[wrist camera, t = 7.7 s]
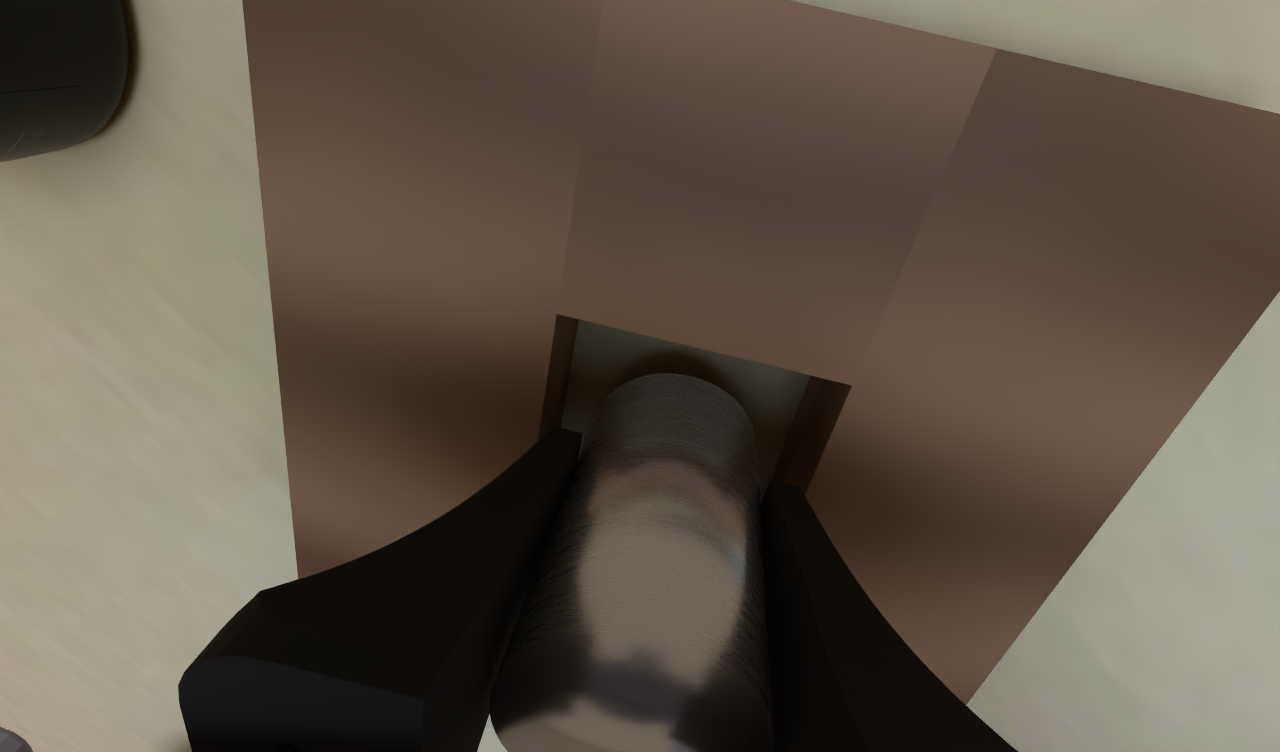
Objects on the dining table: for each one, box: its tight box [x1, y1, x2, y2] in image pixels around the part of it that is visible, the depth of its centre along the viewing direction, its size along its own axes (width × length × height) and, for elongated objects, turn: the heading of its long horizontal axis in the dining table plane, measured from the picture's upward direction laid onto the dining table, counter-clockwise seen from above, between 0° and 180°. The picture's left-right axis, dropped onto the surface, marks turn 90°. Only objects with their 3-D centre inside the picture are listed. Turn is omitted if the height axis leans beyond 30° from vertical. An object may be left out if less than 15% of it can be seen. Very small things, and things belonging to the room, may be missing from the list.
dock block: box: [243, 0, 1280, 705], centre depth 15 cm, size 18×18×3 cm
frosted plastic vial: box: [489, 373, 774, 752], centre depth 12 cm, size 4×4×7 cm
